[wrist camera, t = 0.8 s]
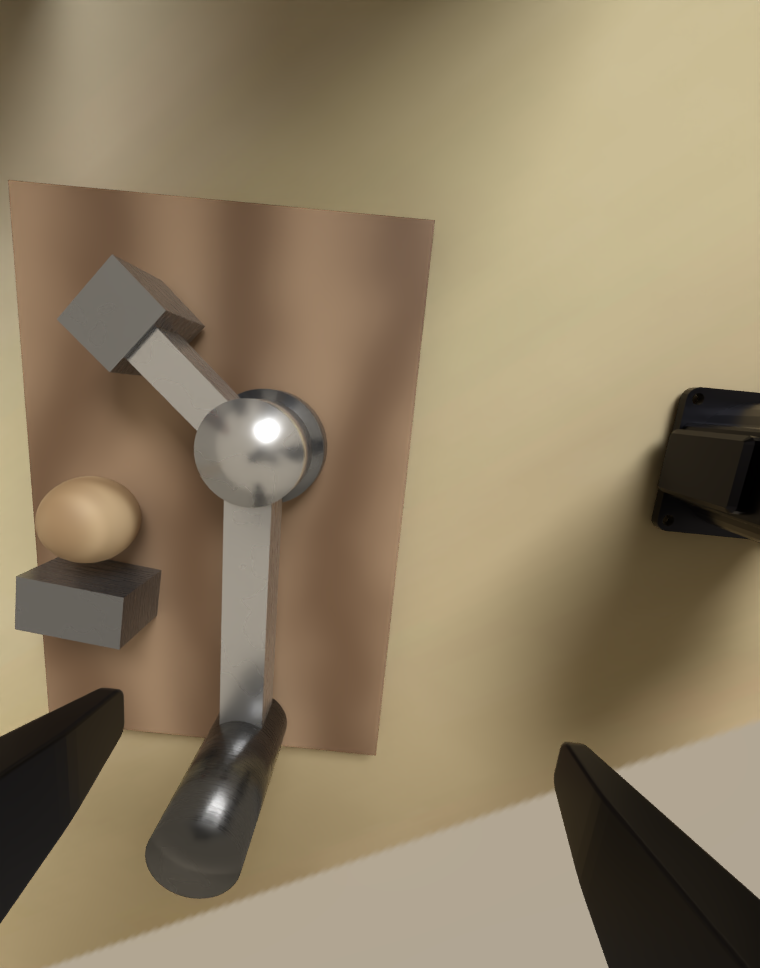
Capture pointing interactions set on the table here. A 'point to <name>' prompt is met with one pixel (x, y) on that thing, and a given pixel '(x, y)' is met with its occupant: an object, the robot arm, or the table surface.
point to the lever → (246, 563)
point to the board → (170, 437)
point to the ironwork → (123, 572)
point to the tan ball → (88, 519)
